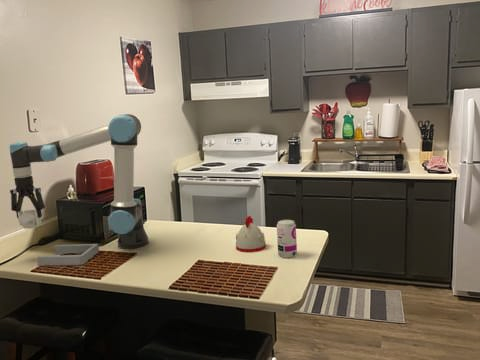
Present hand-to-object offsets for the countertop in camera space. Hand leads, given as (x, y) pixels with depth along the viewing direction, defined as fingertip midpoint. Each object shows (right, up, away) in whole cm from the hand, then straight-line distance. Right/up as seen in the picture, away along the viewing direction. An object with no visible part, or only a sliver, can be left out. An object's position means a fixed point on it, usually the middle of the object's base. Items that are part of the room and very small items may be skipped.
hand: (30, 224), depth 208 cm
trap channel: (+17, -16, +1) cm, 23 cm away
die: (0, -1, 0) cm, 1 cm away
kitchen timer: (+102, -11, 0) cm, 103 cm away
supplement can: (+118, -12, -13) cm, 119 cm away
